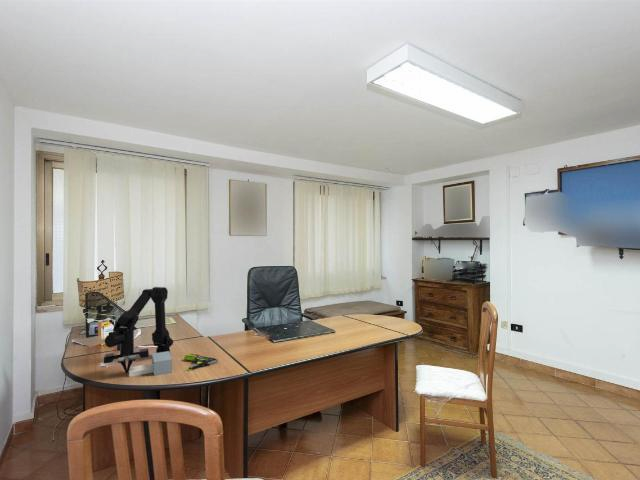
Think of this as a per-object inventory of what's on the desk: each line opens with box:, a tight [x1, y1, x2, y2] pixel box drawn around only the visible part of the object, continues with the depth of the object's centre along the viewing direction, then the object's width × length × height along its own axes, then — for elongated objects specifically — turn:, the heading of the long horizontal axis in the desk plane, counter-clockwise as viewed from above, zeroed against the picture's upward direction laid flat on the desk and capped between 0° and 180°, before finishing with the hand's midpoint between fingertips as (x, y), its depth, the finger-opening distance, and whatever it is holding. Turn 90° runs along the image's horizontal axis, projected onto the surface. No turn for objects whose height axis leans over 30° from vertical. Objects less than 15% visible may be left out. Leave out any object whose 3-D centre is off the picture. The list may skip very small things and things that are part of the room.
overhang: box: [151, 351, 173, 376], centre depth 169 cm, size 8×14×6 cm, turn 30°
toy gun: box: [183, 353, 219, 372], centre depth 175 cm, size 20×4×15 cm
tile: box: [128, 363, 154, 377], centre depth 166 cm, size 14×7×2 cm, turn 121°
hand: (126, 373), depth 161 cm, fingers closed
